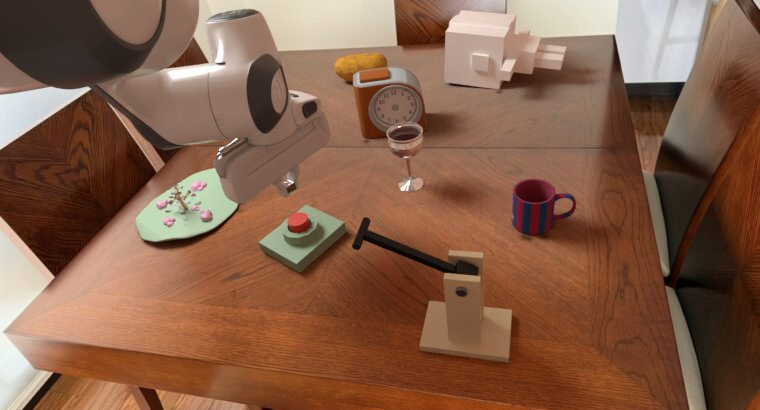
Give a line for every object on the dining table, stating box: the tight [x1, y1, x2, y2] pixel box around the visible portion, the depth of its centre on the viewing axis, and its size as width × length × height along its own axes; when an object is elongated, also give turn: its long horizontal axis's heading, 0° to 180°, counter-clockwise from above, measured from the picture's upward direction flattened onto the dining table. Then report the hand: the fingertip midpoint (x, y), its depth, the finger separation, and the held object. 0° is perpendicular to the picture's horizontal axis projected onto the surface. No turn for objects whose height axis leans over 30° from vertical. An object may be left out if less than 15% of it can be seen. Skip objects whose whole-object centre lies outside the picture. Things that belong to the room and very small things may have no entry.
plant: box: [134, 167, 239, 243], centre depth 101 cm, size 25×21×9 cm
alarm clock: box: [352, 66, 428, 139], centre depth 112 cm, size 15×8×14 cm, turn 92°
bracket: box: [418, 249, 513, 364], centre depth 67 cm, size 12×8×14 cm, turn 76°
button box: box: [258, 204, 347, 274], centre depth 89 cm, size 12×10×4 cm
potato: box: [333, 52, 388, 83], centre depth 136 cm, size 7×14×7 cm, turn 83°
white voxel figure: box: [443, 9, 567, 90], centre depth 124 cm, size 15×25×28 cm
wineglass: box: [386, 122, 425, 193], centre depth 95 cm, size 7×7×12 cm
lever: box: [351, 216, 479, 276], centre depth 63 cm, size 16×5×2 cm, turn 76°
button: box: [287, 212, 310, 233], centre depth 87 cm, size 4×4×2 cm
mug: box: [511, 178, 577, 236], centre depth 83 cm, size 7×10×7 cm
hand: (289, 191), depth 83 cm, fingers closed
